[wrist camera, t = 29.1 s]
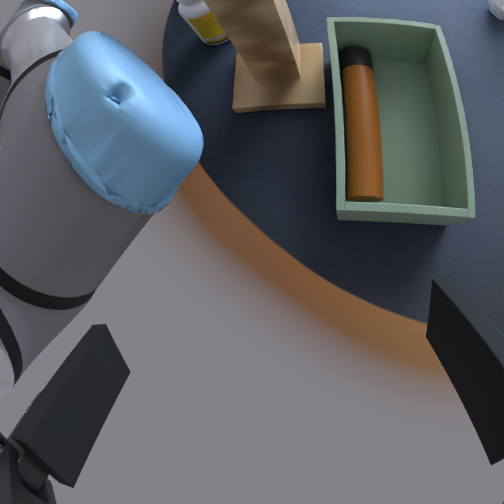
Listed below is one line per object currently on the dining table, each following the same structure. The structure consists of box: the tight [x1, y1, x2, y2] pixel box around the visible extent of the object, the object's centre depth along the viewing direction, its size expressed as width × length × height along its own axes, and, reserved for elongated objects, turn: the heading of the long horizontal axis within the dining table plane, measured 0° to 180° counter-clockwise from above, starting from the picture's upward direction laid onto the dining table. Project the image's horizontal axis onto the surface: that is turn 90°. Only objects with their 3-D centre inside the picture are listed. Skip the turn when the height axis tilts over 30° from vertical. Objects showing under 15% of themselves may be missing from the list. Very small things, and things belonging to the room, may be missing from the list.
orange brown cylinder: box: [340, 46, 384, 202], centre depth 31 cm, size 4×19×4 cm
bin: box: [326, 17, 475, 226], centre depth 28 cm, size 14×23×9 cm, turn 177°
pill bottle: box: [176, 0, 230, 45], centre depth 34 cm, size 6×6×12 cm
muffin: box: [488, 0, 504, 20], centre depth 22 cm, size 6×6×7 cm
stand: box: [203, 0, 326, 113], centre depth 22 cm, size 12×14×31 cm
